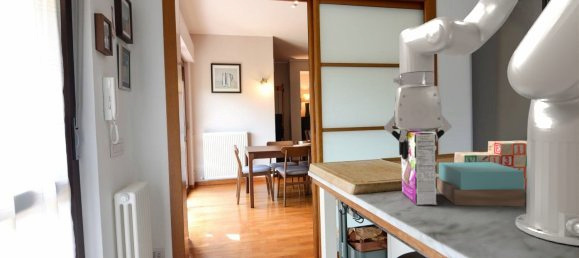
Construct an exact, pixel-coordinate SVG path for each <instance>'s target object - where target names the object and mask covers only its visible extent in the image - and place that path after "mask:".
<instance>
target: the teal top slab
mask: <svg viewBox="0 0 579 258" xmlns="http://www.w3.org/2000/svg"><path fill="white" fill-rule="evenodd" d="M438 177H439V178H440V179H442V180H444V181H446V182H448V183H449V184H451V185H453V186H455V187H457V188H459V189H460V190H525V189H524V171H521V170H518V169H514V168H511V167H507V166H503V165H500V164H496V163H493V162H456V163H454V162H438Z"/></svg>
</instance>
